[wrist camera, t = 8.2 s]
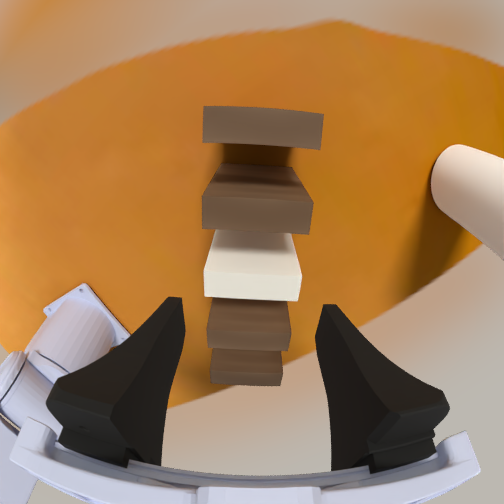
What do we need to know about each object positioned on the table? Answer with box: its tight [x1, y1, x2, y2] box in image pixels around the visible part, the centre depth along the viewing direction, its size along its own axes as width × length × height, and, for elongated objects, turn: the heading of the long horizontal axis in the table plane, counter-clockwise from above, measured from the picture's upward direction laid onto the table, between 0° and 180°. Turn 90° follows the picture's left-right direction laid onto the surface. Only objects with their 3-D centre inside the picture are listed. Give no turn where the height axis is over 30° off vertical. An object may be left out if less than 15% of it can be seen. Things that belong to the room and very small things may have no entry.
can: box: [431, 145, 504, 260], centre depth 14 cm, size 6×6×12 cm
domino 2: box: [202, 163, 314, 235], centre depth 16 cm, size 2×5×8 cm, turn 87°
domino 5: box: [210, 348, 283, 386], centre depth 22 cm, size 2×5×8 cm, turn 87°
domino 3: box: [204, 230, 302, 301], centre depth 18 cm, size 2×5×8 cm, turn 86°
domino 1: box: [203, 106, 324, 150], centre depth 14 cm, size 2×5×8 cm, turn 87°
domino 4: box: [207, 297, 291, 351], centre depth 20 cm, size 2×5×8 cm, turn 87°
